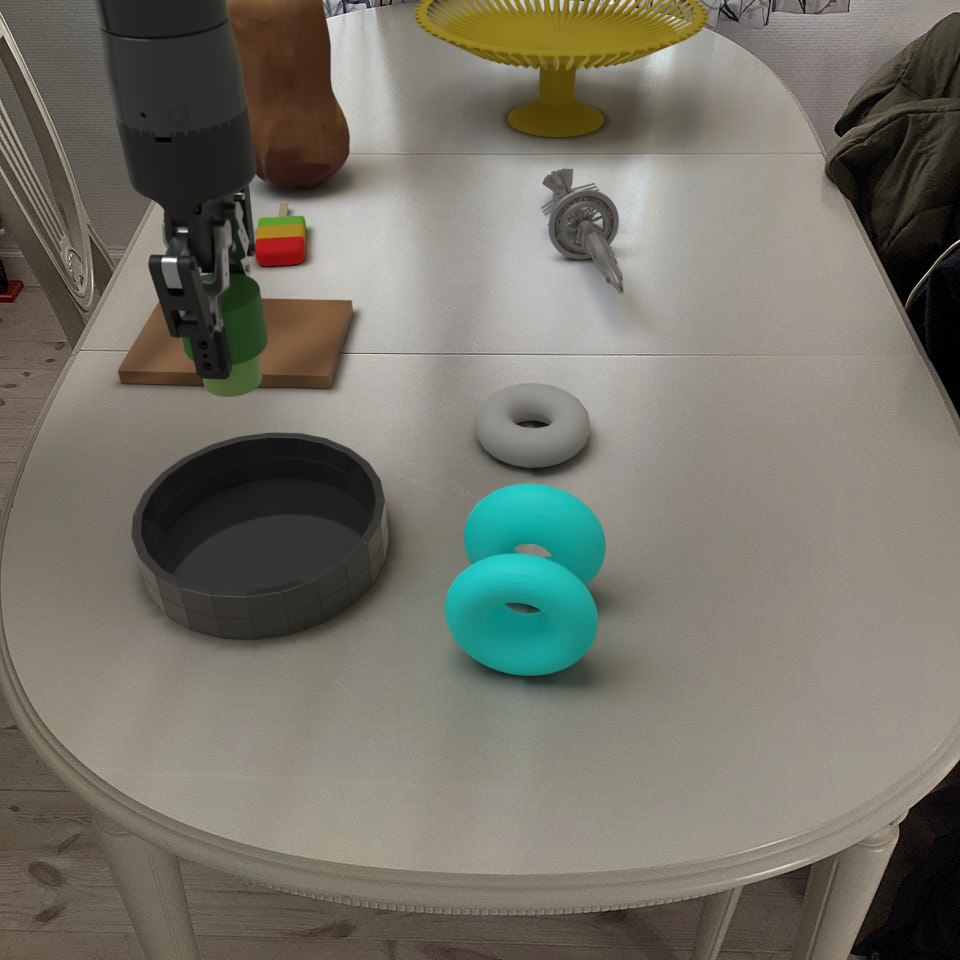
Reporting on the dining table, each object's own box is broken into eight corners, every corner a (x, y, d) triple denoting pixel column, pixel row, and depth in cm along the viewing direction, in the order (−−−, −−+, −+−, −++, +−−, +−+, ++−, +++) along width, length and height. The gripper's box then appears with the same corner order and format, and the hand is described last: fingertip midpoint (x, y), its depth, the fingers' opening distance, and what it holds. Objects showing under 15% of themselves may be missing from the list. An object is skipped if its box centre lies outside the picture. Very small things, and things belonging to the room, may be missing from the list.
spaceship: (569, 270, 96) (647, 234, 95) (514, 162, 125) (573, 134, 124) (597, 338, 100) (672, 305, 99) (537, 219, 129) (595, 192, 128)
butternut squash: (323, 155, 138) (300, -47, 122) (371, 188, 130) (354, -25, 114) (228, 179, 132) (191, -30, 116) (272, 216, 124) (239, -5, 108)
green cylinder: (182, 402, 69) (161, 312, 65) (204, 357, 73) (187, 270, 69) (263, 405, 69) (248, 315, 64) (281, 360, 73) (268, 273, 69)
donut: (564, 489, 84) (605, 421, 90) (566, 457, 81) (608, 390, 88) (455, 458, 87) (503, 395, 94) (454, 427, 85) (502, 364, 92)
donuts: (602, 586, 75) (612, 482, 68) (591, 693, 67) (601, 587, 61) (468, 571, 76) (466, 468, 70) (443, 674, 69) (438, 569, 62)
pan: (110, 636, 72) (94, 592, 69) (184, 472, 86) (173, 429, 83) (370, 646, 71) (364, 601, 68) (401, 478, 85) (398, 435, 82)
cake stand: (544, 202, 126) (548, 79, 116) (362, 113, 150) (354, 4, 141) (755, 125, 145) (773, 13, 136) (564, 57, 170) (568, -42, 160)
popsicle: (255, 268, 113) (252, 253, 112) (262, 210, 125) (260, 196, 124) (305, 265, 114) (303, 250, 113) (307, 208, 125) (305, 193, 124)
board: (120, 383, 96) (117, 370, 95) (164, 308, 107) (161, 295, 106) (330, 388, 95) (328, 375, 94) (353, 312, 106) (352, 299, 105)
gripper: (155, 61, 64) (202, 297, 75) (70, 149, 53) (139, 410, 64) (272, 64, 64) (302, 300, 75) (210, 152, 53) (256, 415, 64)
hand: (227, 350), depth 69 cm, fingers closed on green cylinder, 5 cm apart
